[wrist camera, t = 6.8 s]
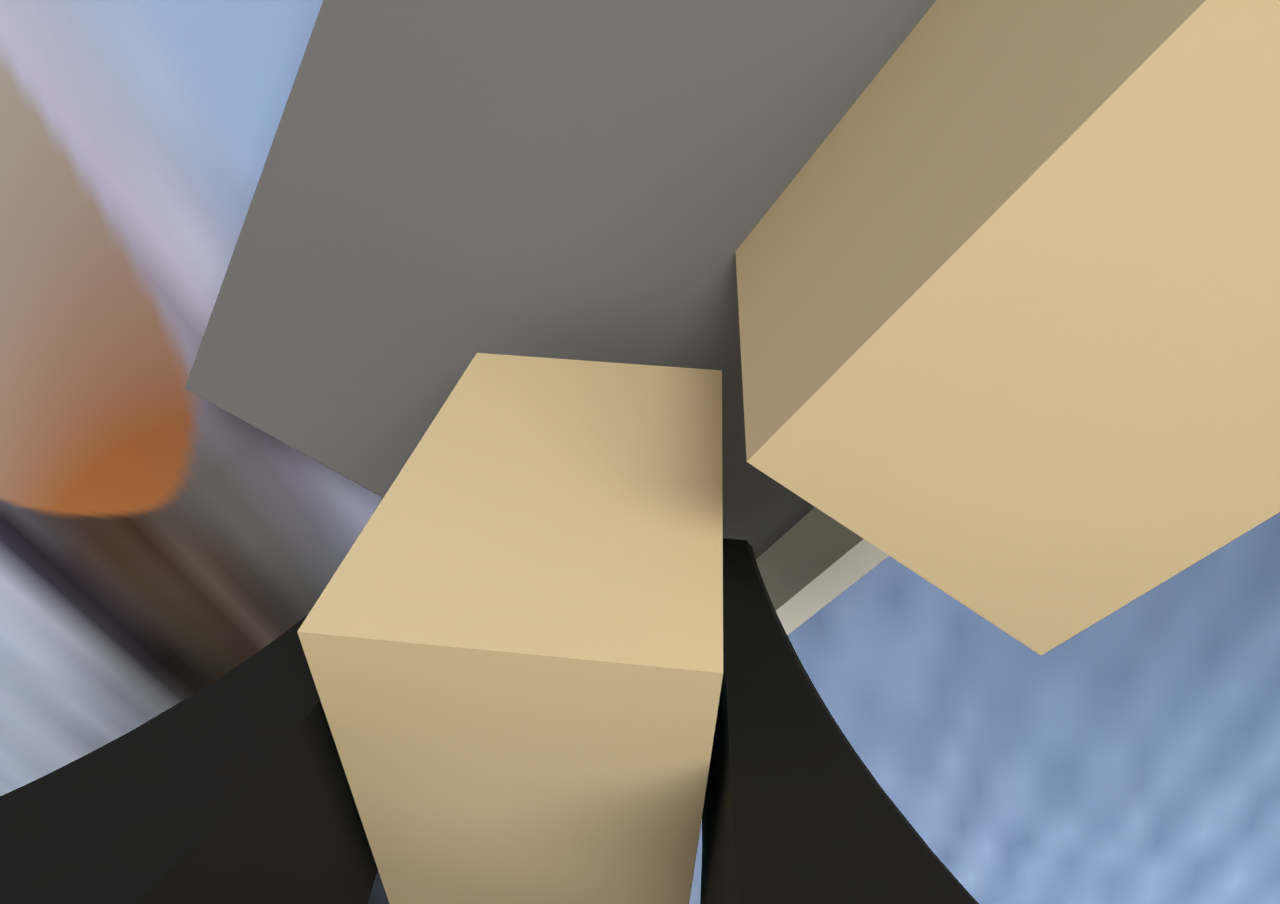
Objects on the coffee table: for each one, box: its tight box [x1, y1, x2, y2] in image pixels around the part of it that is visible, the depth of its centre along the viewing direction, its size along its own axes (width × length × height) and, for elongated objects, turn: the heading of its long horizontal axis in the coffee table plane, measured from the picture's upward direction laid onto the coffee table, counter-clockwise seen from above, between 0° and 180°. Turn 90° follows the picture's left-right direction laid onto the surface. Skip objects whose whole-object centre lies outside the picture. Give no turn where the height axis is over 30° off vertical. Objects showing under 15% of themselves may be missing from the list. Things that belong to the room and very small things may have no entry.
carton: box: [297, 353, 723, 904], centre depth 11 cm, size 6×4×6 cm, turn 178°
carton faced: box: [735, 0, 1280, 655], centre depth 8 cm, size 6×4×6 cm, turn 145°
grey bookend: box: [185, 0, 936, 635], centre depth 12 cm, size 12×15×3 cm
